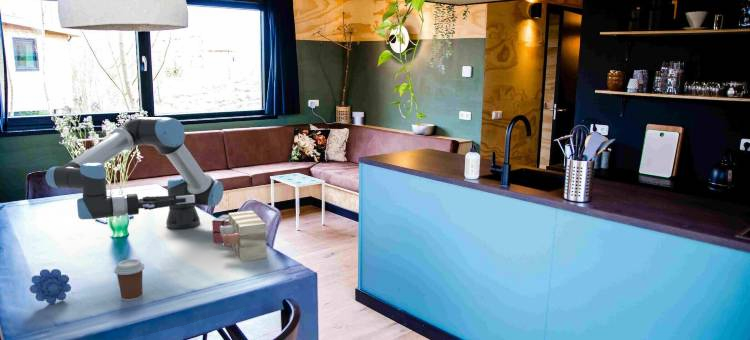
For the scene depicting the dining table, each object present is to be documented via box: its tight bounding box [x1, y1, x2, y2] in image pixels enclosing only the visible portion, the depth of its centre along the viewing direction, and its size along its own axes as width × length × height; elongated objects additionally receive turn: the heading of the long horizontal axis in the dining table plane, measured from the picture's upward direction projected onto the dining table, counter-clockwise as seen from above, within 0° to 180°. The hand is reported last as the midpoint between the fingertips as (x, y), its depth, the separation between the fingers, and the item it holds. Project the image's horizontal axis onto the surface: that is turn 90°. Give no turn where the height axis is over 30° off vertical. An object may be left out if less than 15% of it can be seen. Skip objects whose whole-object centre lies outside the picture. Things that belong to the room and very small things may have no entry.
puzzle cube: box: [211, 214, 229, 244], centre depth 240 cm, size 10×10×10 cm
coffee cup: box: [113, 258, 145, 302], centre depth 182 cm, size 9×9×12 cm
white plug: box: [220, 225, 233, 237], centre depth 230 cm, size 5×14×5 cm, turn 116°
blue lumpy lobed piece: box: [29, 268, 72, 305], centre depth 177 cm, size 12×7×12 cm, turn 136°
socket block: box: [227, 210, 268, 262], centre depth 226 cm, size 22×10×14 cm, turn 26°
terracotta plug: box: [222, 233, 239, 247], centre depth 219 cm, size 5×14×5 cm, turn 116°
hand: (194, 198), depth 209 cm, fingers closed
